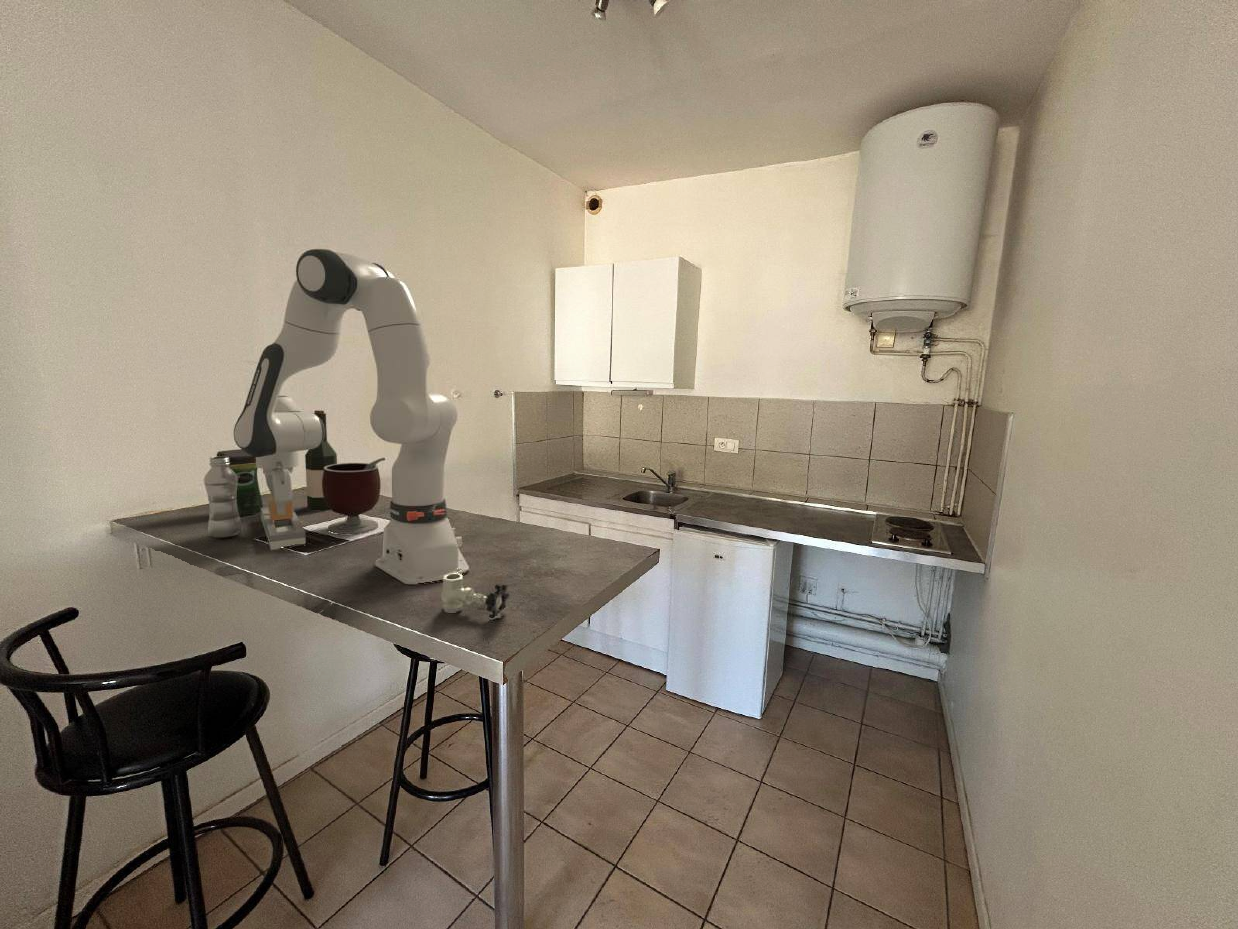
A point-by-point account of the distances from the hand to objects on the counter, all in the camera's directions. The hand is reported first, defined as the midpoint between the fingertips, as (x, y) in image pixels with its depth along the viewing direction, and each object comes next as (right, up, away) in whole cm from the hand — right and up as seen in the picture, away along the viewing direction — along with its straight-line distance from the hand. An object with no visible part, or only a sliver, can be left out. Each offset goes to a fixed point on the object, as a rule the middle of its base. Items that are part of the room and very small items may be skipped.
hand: (280, 512), depth 127 cm
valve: (+60, -16, -36) cm, 72 cm away
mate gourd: (+16, -5, +8) cm, 18 cm away
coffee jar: (-21, -2, +15) cm, 26 cm away
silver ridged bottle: (-10, -6, -5) cm, 13 cm away
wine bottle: (-4, -1, +25) cm, 25 cm away
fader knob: (0, -3, +1) cm, 3 cm away
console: (0, -5, +1) cm, 5 cm away
